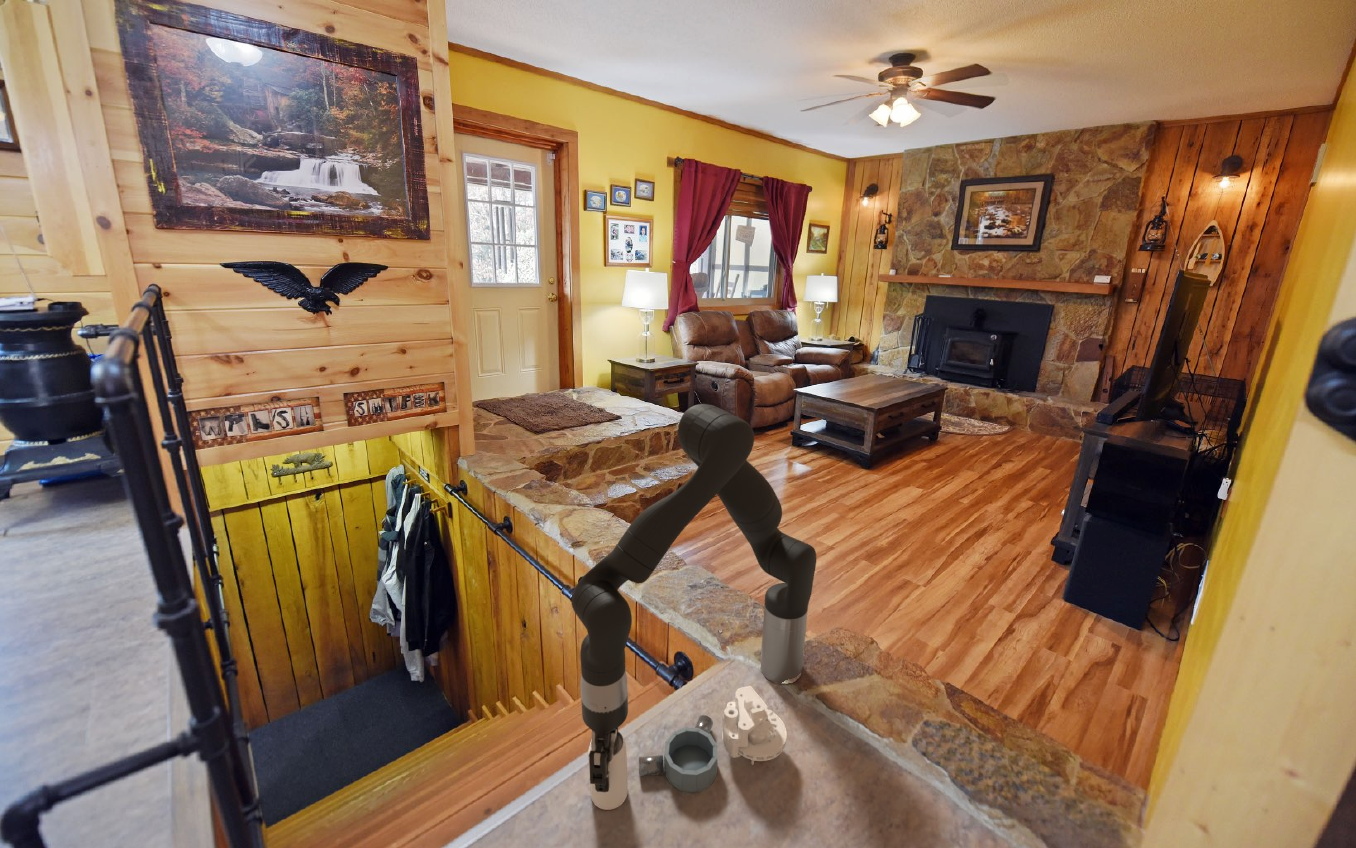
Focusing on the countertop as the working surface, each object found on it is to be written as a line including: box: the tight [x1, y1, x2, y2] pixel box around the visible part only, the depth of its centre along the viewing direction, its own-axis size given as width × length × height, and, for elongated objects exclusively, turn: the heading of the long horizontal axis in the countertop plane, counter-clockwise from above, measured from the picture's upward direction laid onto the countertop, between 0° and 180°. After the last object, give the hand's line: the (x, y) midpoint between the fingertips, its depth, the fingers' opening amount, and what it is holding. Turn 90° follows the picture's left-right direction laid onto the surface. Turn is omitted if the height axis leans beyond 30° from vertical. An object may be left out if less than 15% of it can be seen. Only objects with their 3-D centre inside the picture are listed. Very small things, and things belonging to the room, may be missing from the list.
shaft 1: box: [638, 754, 665, 777], centre depth 101 cm, size 4×3×3 cm
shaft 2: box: [694, 714, 714, 735], centre depth 108 cm, size 4×3×3 cm
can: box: [587, 730, 629, 811], centre depth 96 cm, size 6×6×12 cm
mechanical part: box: [721, 685, 788, 766], centre depth 104 cm, size 11×12×12 cm
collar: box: [663, 726, 718, 794], centre depth 102 cm, size 10×10×4 cm
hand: (607, 766), depth 95 cm, fingers open, 8 cm apart
